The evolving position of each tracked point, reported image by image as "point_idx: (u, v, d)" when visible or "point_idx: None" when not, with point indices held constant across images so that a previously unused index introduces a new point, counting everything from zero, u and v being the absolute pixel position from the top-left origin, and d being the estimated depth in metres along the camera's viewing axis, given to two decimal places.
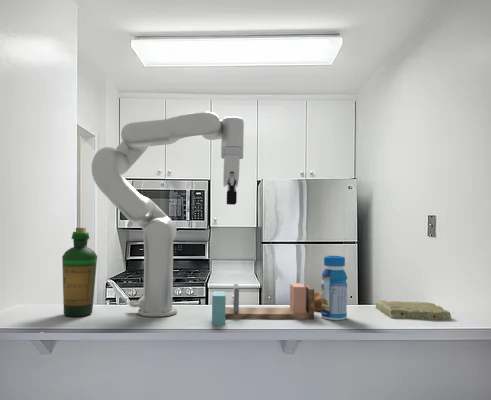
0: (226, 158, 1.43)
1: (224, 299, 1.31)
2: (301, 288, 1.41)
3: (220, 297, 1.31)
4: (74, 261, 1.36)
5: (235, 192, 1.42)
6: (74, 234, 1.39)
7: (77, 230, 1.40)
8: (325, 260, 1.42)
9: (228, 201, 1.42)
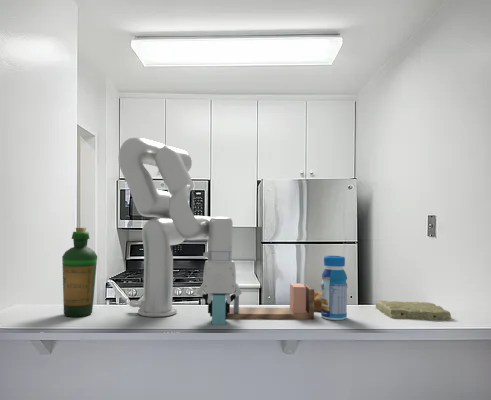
0: (233, 264, 1.34)
1: (224, 299, 1.31)
2: (301, 288, 1.41)
3: (220, 297, 1.31)
4: (74, 261, 1.36)
5: None
6: (74, 234, 1.39)
7: (77, 230, 1.40)
8: (325, 260, 1.42)
9: None
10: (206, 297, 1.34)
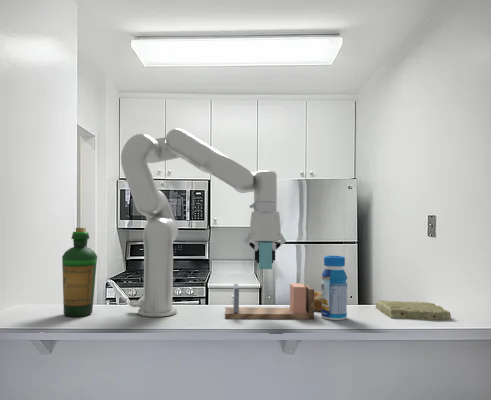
0: (278, 214, 1.43)
1: (271, 246, 1.41)
2: (301, 288, 1.41)
3: (267, 244, 1.41)
4: (74, 261, 1.36)
5: None
6: (74, 234, 1.39)
7: (77, 230, 1.40)
8: (325, 260, 1.42)
9: None
10: (253, 245, 1.44)
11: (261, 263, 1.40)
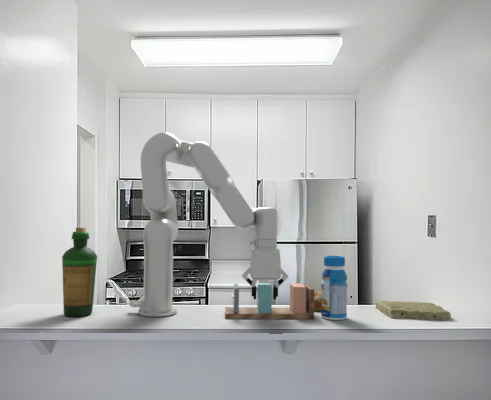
0: (278, 251, 1.43)
1: (270, 290, 1.40)
2: (301, 288, 1.41)
3: (267, 288, 1.40)
4: (74, 261, 1.36)
5: None
6: (74, 234, 1.39)
7: (77, 230, 1.40)
8: (325, 260, 1.42)
9: (275, 297, 1.43)
10: (250, 282, 1.43)
11: (260, 307, 1.40)
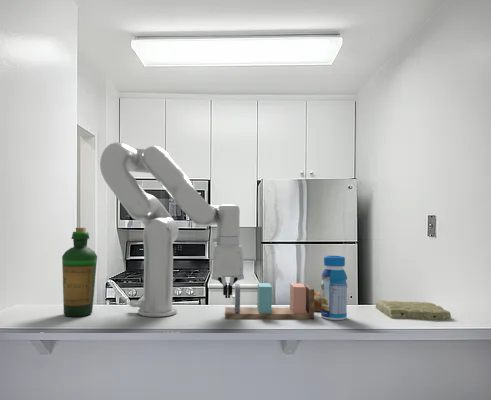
0: (241, 249, 1.43)
1: (270, 290, 1.40)
2: (301, 288, 1.41)
3: (267, 288, 1.40)
4: (74, 261, 1.36)
5: None
6: (74, 234, 1.39)
7: (77, 230, 1.40)
8: (325, 260, 1.42)
9: None
10: (221, 279, 1.43)
11: (260, 307, 1.40)
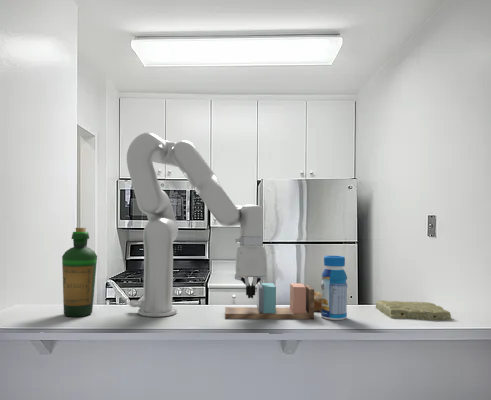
0: (264, 249, 1.43)
1: (274, 290, 1.40)
2: (301, 288, 1.41)
3: (271, 288, 1.40)
4: (74, 261, 1.36)
5: None
6: (74, 234, 1.39)
7: (77, 230, 1.40)
8: (325, 260, 1.42)
9: None
10: (244, 279, 1.43)
11: (265, 307, 1.40)
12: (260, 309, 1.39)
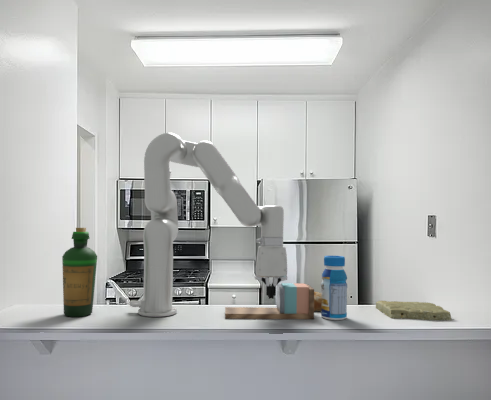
0: (285, 249, 1.43)
1: (295, 290, 1.41)
2: (304, 288, 1.41)
3: (292, 288, 1.41)
4: (74, 261, 1.36)
5: None
6: (74, 234, 1.39)
7: (77, 230, 1.40)
8: (325, 260, 1.42)
9: (273, 296, 1.43)
10: (265, 280, 1.44)
11: (286, 307, 1.40)
12: (281, 309, 1.40)
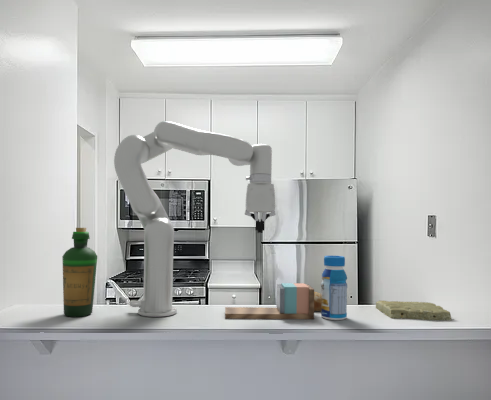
0: (273, 186, 1.50)
1: (295, 290, 1.41)
2: (304, 288, 1.41)
3: (292, 288, 1.41)
4: (74, 261, 1.36)
5: None
6: (74, 234, 1.39)
7: (77, 230, 1.40)
8: (325, 260, 1.42)
9: None
10: (254, 215, 1.50)
11: (286, 307, 1.40)
12: (281, 309, 1.40)
